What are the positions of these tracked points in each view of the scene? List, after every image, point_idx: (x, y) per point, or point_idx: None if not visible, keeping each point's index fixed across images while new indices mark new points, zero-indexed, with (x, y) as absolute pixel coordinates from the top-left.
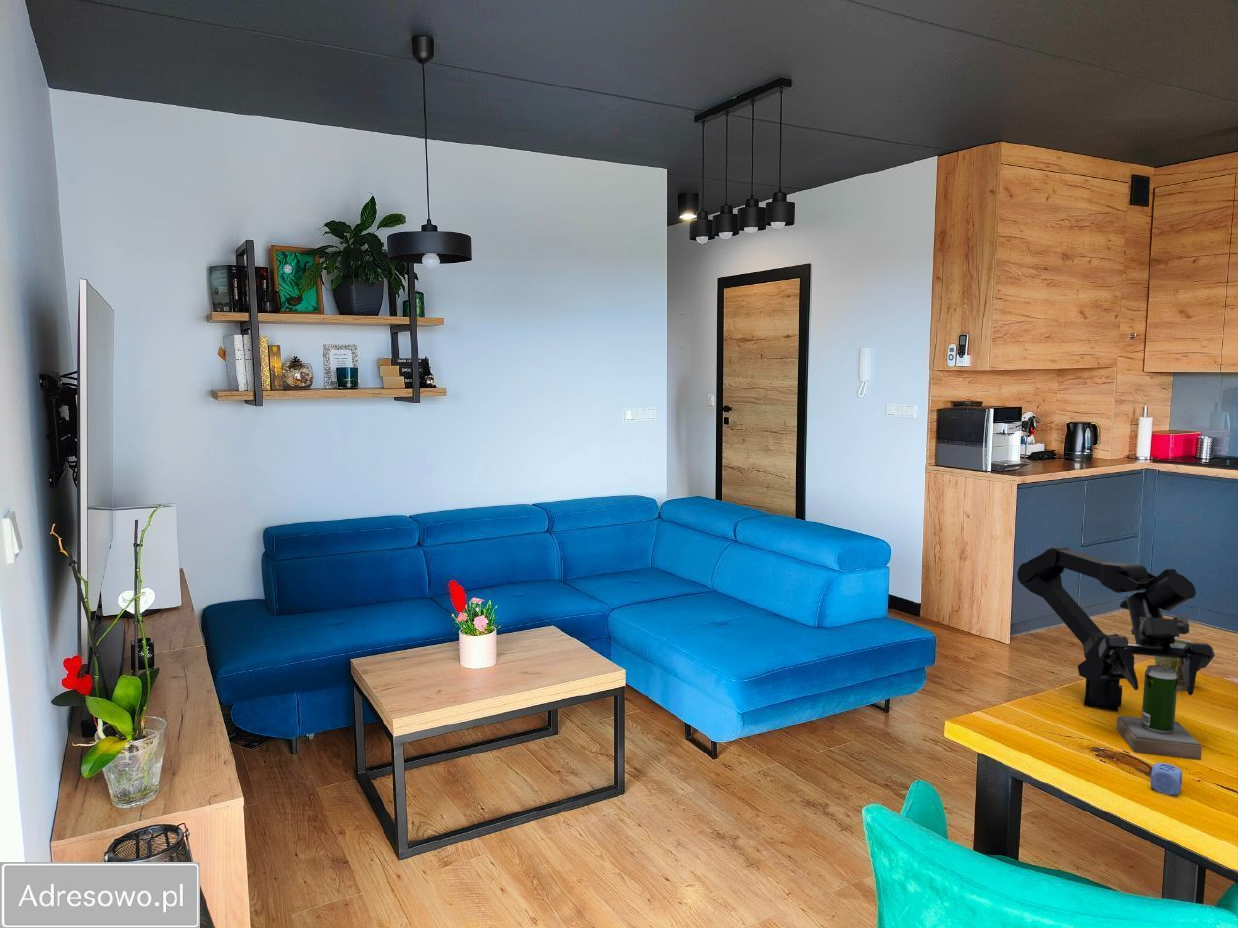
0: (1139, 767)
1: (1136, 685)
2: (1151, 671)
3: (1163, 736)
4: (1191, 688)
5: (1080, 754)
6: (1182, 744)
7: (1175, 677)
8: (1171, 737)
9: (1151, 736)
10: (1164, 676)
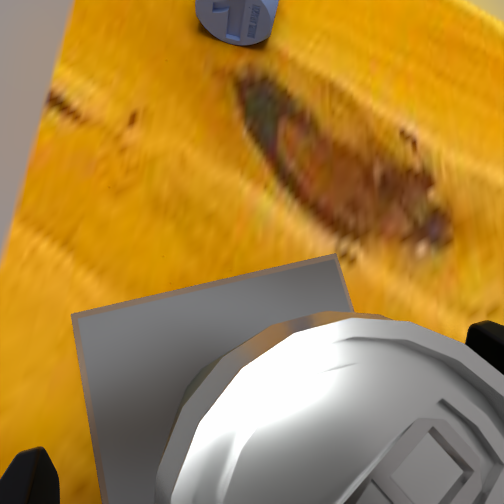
0: (303, 139)
1: (496, 330)
2: (493, 382)
3: (228, 328)
4: (16, 485)
5: (471, 158)
6: (154, 296)
7: (196, 400)
8: (194, 335)
9: (278, 296)
10: (331, 321)
